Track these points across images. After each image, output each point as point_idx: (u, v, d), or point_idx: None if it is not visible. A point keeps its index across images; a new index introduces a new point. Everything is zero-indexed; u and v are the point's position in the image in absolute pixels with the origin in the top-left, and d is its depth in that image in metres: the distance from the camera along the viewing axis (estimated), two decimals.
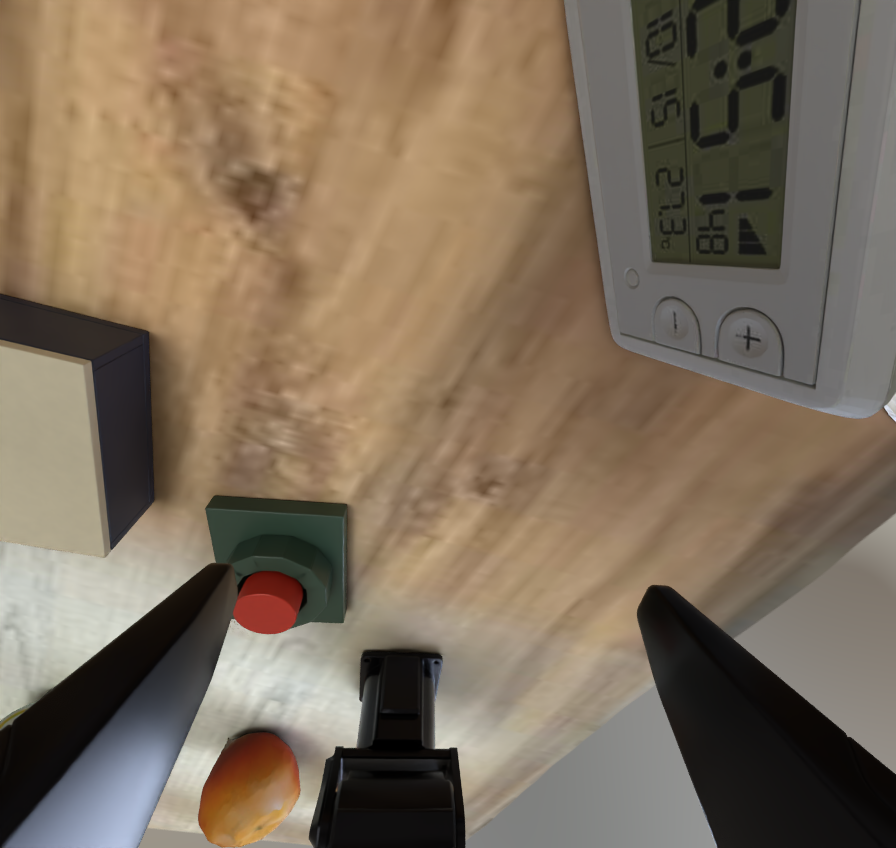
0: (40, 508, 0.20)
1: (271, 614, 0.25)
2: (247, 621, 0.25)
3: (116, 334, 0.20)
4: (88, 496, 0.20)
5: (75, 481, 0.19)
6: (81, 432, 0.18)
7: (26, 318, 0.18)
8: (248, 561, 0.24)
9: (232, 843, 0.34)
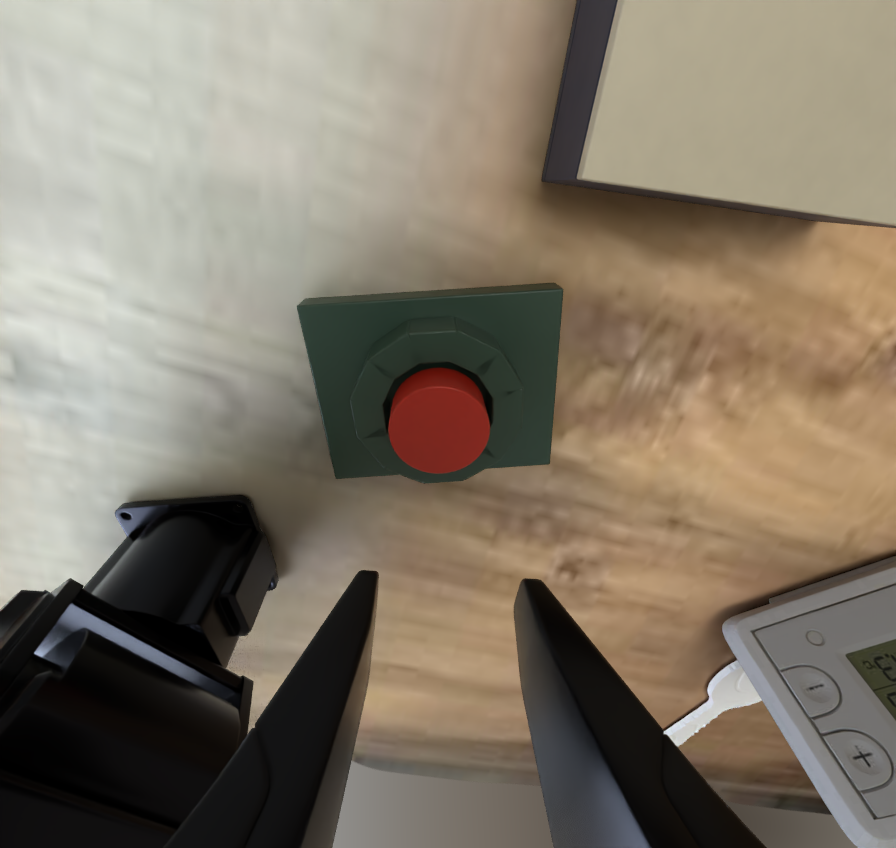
0: (721, 71, 0.10)
1: (442, 442, 0.15)
2: (419, 408, 0.14)
3: None
4: (731, 182, 0.11)
5: (765, 166, 0.11)
6: (851, 202, 0.12)
7: None
8: (513, 382, 0.16)
9: None
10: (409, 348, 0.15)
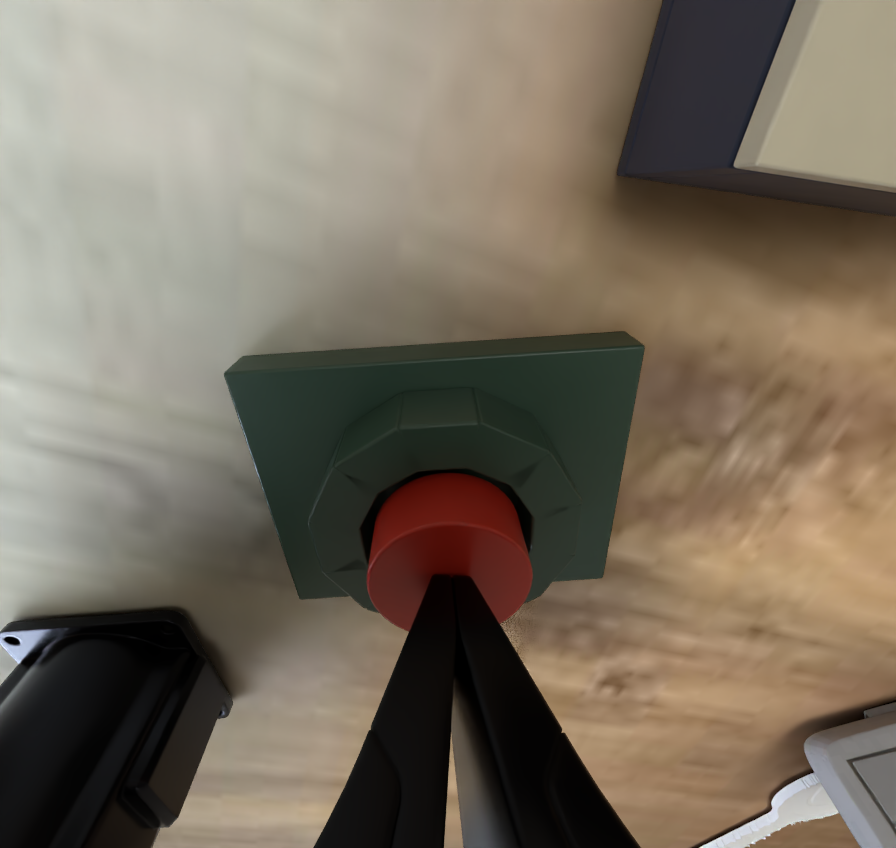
0: None
1: None
2: (417, 554, 0.09)
3: None
4: None
5: None
6: None
7: None
8: (566, 496, 0.10)
9: None
10: (401, 449, 0.09)
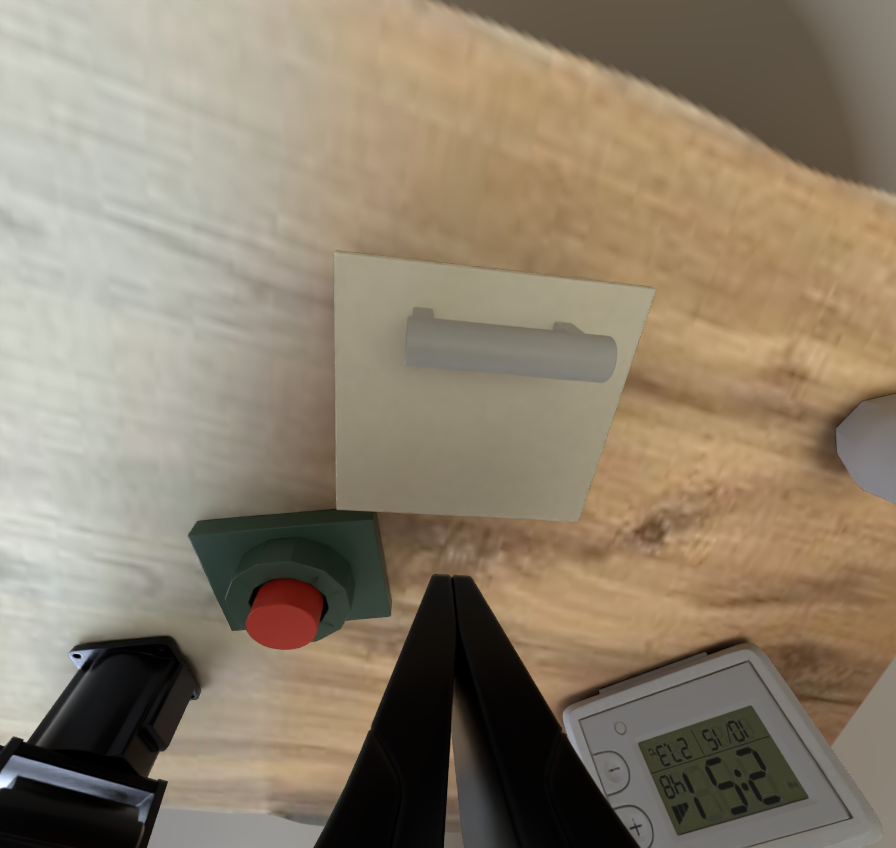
0: (403, 464, 0.17)
1: (285, 633, 0.22)
2: (264, 616, 0.21)
3: None
4: (430, 507, 0.19)
5: (448, 500, 0.18)
6: (510, 511, 0.19)
7: None
8: (337, 587, 0.23)
9: None
10: (260, 572, 0.22)
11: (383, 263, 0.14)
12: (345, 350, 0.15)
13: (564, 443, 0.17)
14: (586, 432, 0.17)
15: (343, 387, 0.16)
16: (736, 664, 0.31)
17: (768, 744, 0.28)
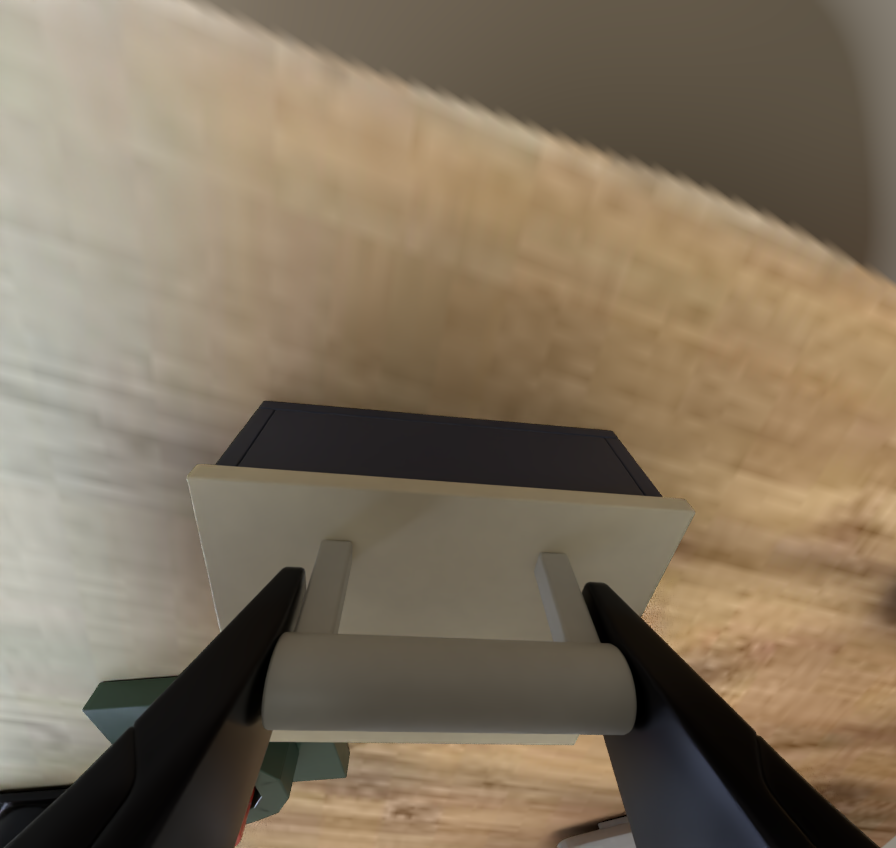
0: None
1: None
2: None
3: None
4: (372, 737, 0.14)
5: None
6: (481, 738, 0.14)
7: None
8: (268, 778, 0.18)
9: None
10: None
11: (267, 489, 0.09)
12: (225, 588, 0.10)
13: None
14: None
15: None
16: None
17: None
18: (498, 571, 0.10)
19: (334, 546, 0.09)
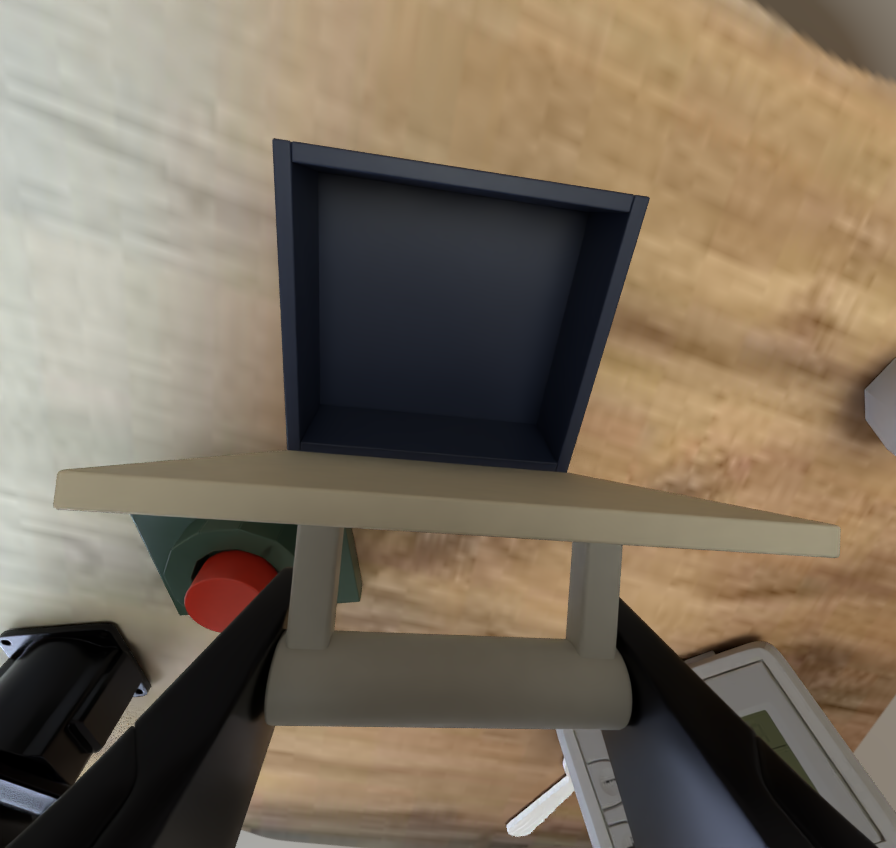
0: None
1: (230, 613, 0.19)
2: (205, 592, 0.18)
3: None
4: None
5: None
6: None
7: None
8: (293, 561, 0.20)
9: None
10: (202, 541, 0.19)
11: None
12: None
13: None
14: None
15: None
16: (748, 664, 0.27)
17: (785, 754, 0.24)
18: None
19: None
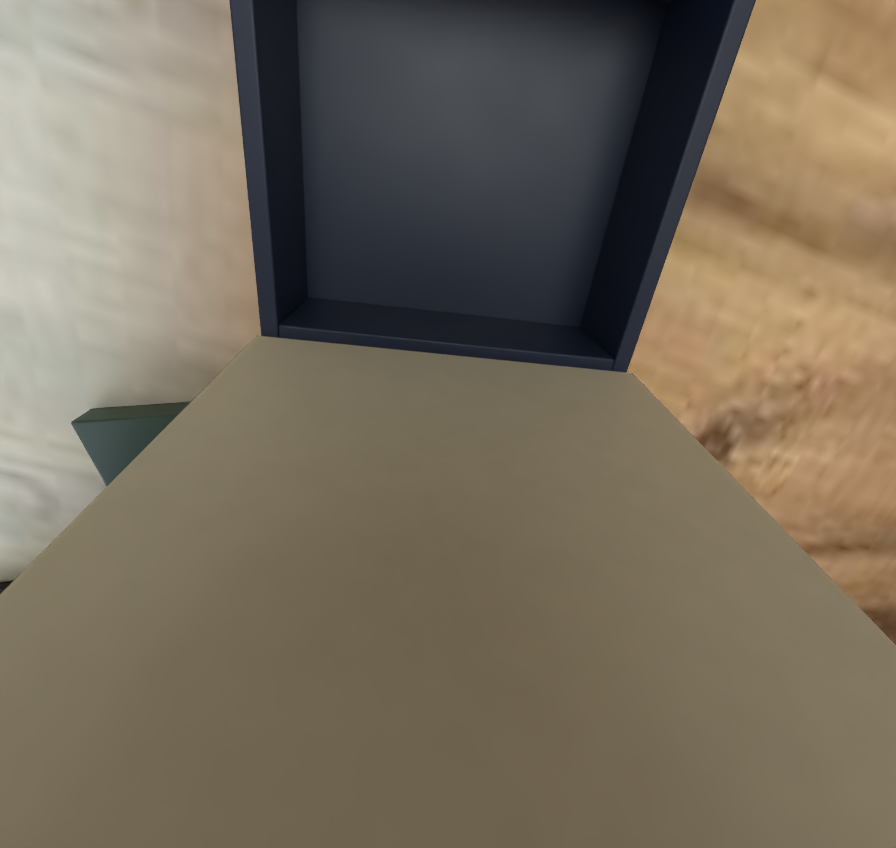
0: None
1: None
2: None
3: None
4: None
5: None
6: None
7: None
8: None
9: None
10: None
11: None
12: None
13: None
14: None
15: None
16: None
17: None
18: None
19: None
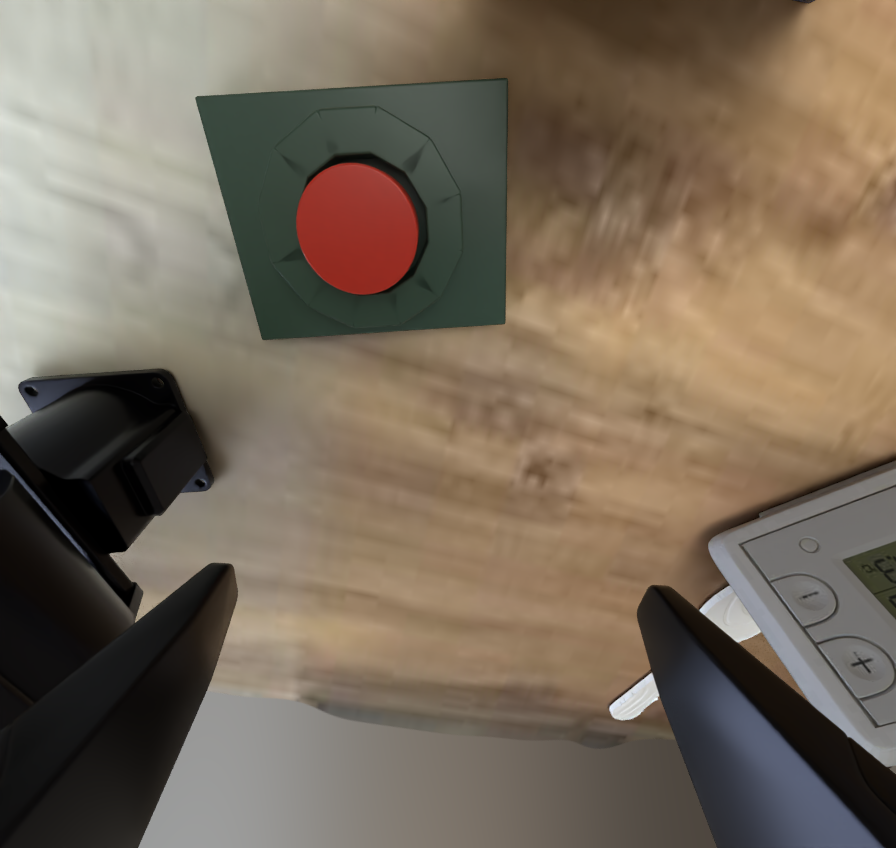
0: None
1: (362, 247, 0.13)
2: (329, 195, 0.12)
3: None
4: None
5: None
6: None
7: None
8: (448, 184, 0.13)
9: None
10: (321, 131, 0.12)
11: None
12: None
13: None
14: None
15: None
16: None
17: None
18: None
19: None
